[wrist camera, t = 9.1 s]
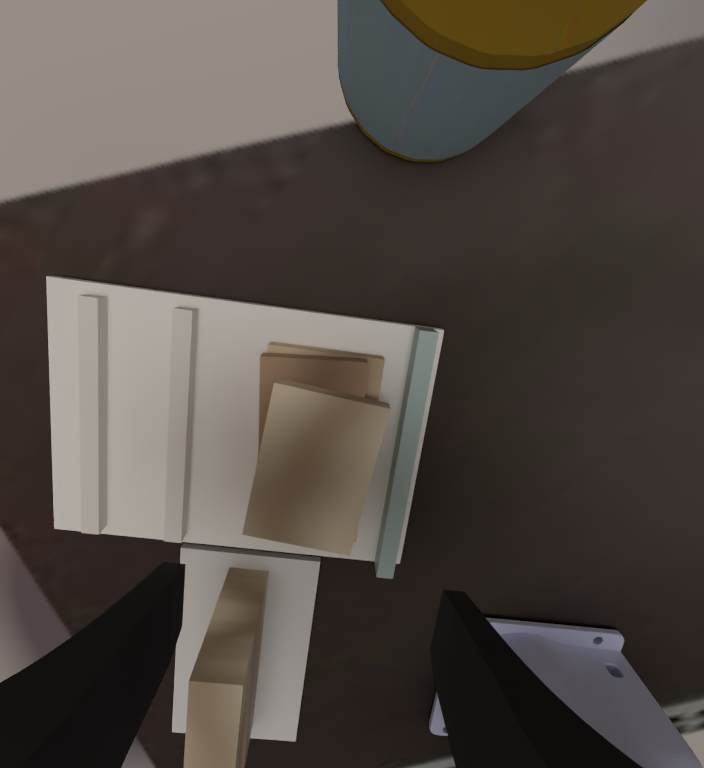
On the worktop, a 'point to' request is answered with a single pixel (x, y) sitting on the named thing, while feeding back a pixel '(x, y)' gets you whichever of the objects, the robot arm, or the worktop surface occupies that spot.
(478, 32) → the bottle
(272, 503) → the offcut stack
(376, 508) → the board
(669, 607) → the worktop surface
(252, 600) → the birch panel
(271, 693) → the felt pad
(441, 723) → the robot arm
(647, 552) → the worktop surface
